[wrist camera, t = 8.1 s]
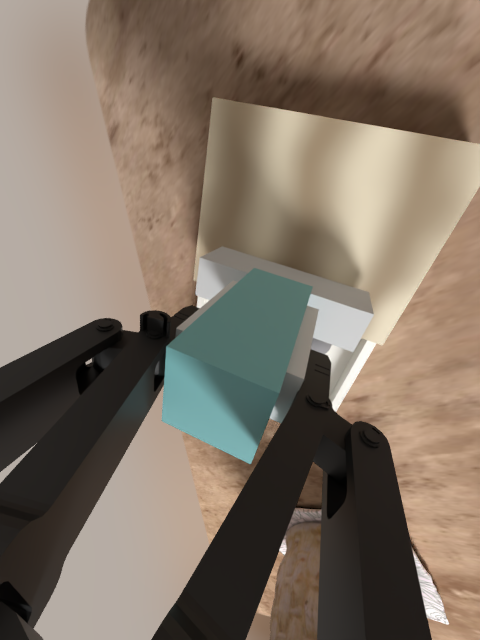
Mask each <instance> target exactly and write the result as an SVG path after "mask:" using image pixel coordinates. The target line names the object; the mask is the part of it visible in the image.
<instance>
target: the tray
mask: <svg viewBox="0 0 480 640" xmlns="http://www.w3.org/2000/svg"><path fill="white" fill-rule="evenodd" d="M208 301H209V300H208V299H205V298H202V297H199V296H198V300H197V308H201V307H202V306H203V305H204V304H206V303H207V302H208ZM375 345H376V343H374V342H371V341H368V340H365V339H362V338H361V339H360V341H359V343H358V344H357V346H356V348H355V350H354V352H351V351H348V350H345V349H343V348H340V347H337V346H334V345H332V346H331V348H330V350H329V351H328V352H327V353H326V354H325V355H328V357H329V359H330V361H331V376H330V390H329V399H330V400H331V403H332V408H333V409H334V411H335V412H336V411H337V409H338V407H339V406H340V404H341V402H342V401H343V399H344V397H345V396H346V394H347V392H348V391H349V389H350V387H351V385H352V384H353V382H354V380H355V379H356V377H357V375H358V374H359V372H360V370H361V369H362V367H363V365H364V363H365V362H366V360H367V358H368V357H369V355H370V353H371V352H372V350H373V348H374V347H375Z"/></svg>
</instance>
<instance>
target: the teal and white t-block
mask: <svg viewBox="0 0 480 640" xmlns="http://www.w3.org/2000/svg"><path fill="white" fill-rule="evenodd" d="M232 281H236V282H238V283H236V284H235V285H234V286H233V287H232V288H231V289H230V290H229V291H228V292H226V293H225V294H224V295H223V296H222V297H221V298H220V299H219V300H217V301H216V302H215V303H214V304H213V305H212V306H211V307H210V308H209V309H207V310H206V311H205V312H204V313H203V314H202V315H201V316H200V317H198V318H197V319H196V320H195V321H194V322H193V323H192V324H191V325H190V326H188V327H187V328H186V329H185V330H184V331H183V332H182V333H181V334H179V335H178V336H177V337H176V338H175V339H174V340H173V341H172V342H171V343H169V344H168V345H167V346H166V360H165V377H164V393H163V410H162V421H163V422H165V423H167V424H169V425H171V426H173V427H175V428H177V429H179V430H181V431H183V432H185V433H187V434H189V435H191V436H193V437H195V438H198V439H200V440H202V441H204V442H206V443H208V444H210V445H212V446H214V447H216V448H218V449H220V450H222V451H224V452H226V453H228V454H230V455H232V456H234V457H236V458H238V459H240V460H243V461H245V462H247V463H249V464H251V462H252V460H253V458H254V455H255V453H256V450H257V448H258V445H259V443H260V440H261V438H262V435H263V433H264V430H265V428H266V425H267V423H268V420H269V418H270V416H271V413H272V411H273V408H274V406H275V403H276V401H277V398H278V396H279V393H280V390H281V387H282V384H283V381H284V377H285V374H286V371H287V368H288V365H289V361H290V358H291V355H292V352H293V349H294V346H295V342H296V339H297V336H298V333H299V330H300V326H301V323H302V320H303V317H304V314H305V311H306V307H307V306H310V307H313V308H316V309H319V311H318V316H317V321H316V325H315V330H314V335H313V338H315V339H318V340H321V341H323V342H326V343H329V344H332V345H334V346H337V347H340V348H343V349H345V350H348V351H351V352H354V350H355V348H356V346H357V344H358V343H359V341H360V339H361V337H362V335H363V334H364V332H365V330H366V328H367V326H368V325H369V323H370V321H371V319H372V317H373V316H374V312H373V308H372V304H371V299H370V295H369V292H367V291H364V290H360V289H357V288H354V287H351V286H348V285H344V284H341V283H338V282H335V281H332V280H328V279H325V278H322V277H319V276H316V275H312V274H309V273H306V272H303V271H300V270H296V269H293V268H290V267H287V266H284V265H281V264H277V263H274V262H271V261H268V260H265V259H261V258H258V257H255V256H252V255H249V254H245V253H242V252H239V251H236V250H233V249H229V248H226V247H223V246H222V247H220V248H218V249H216V250H214V251H212V252H210V253H208V254H206V255H204V256H201V257H200V260H199V268H198V276H197V284H196V293H195V295H197V296H199V297H202V298H205V299H208V300H210V299H212V298H213V297H214V296H215V295H216V294H218V293H219V292H220V291H221V290H222V289H224V288H225V287H226V286H227V285H228V284H229V283H231V282H232Z"/></svg>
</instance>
